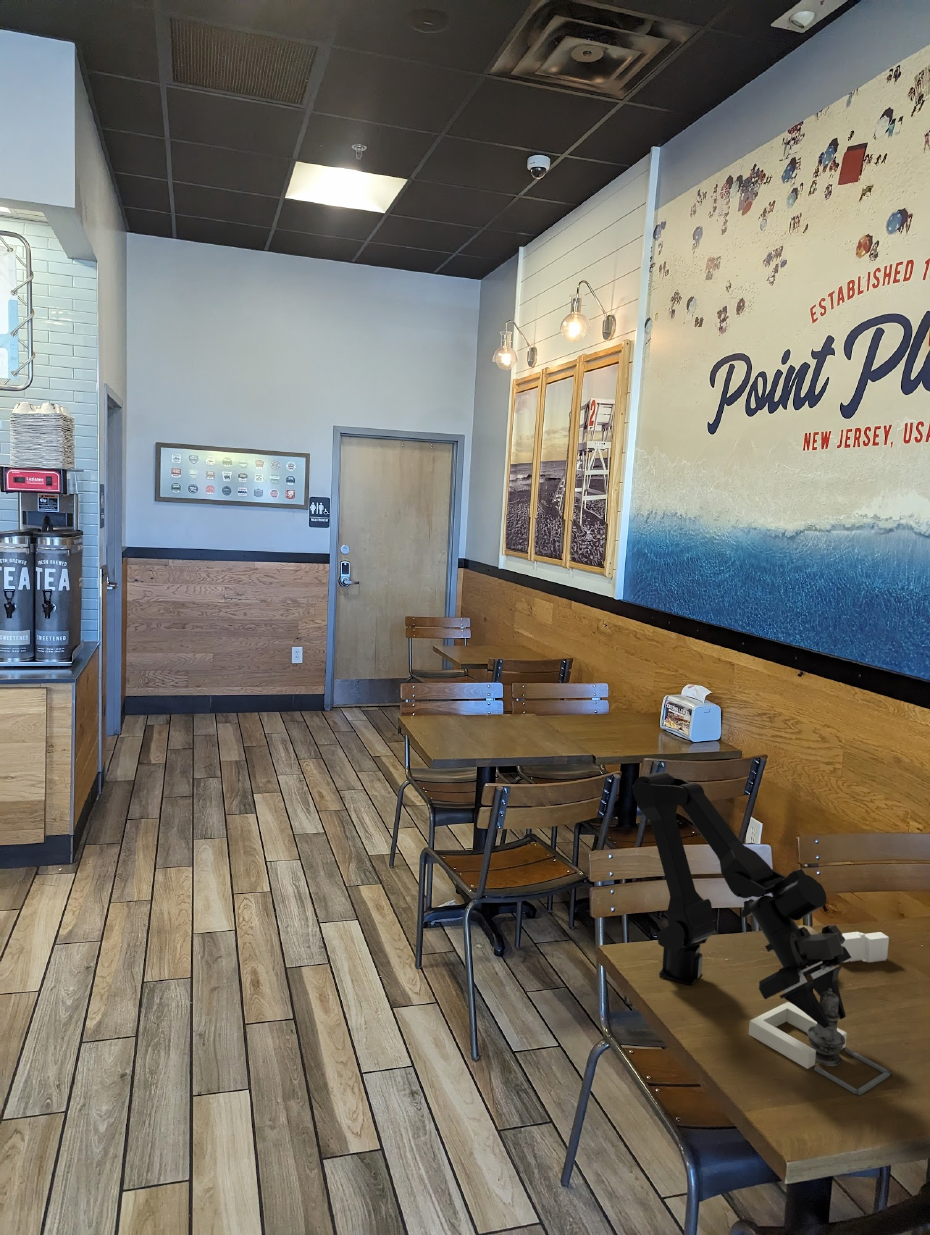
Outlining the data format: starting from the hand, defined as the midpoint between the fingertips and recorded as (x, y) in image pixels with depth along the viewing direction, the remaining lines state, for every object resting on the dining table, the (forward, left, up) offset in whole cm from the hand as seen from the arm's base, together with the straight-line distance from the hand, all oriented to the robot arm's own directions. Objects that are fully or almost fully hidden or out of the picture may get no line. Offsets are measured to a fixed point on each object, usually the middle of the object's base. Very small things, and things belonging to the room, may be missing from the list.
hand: (835, 1022), depth 141 cm
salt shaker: (-1, +1, -7) cm, 7 cm away
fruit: (-10, +29, -7) cm, 32 cm away
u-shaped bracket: (-6, +3, -7) cm, 9 cm away
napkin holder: (-1, +40, -7) cm, 40 cm away
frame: (+3, -1, -7) cm, 7 cm away
